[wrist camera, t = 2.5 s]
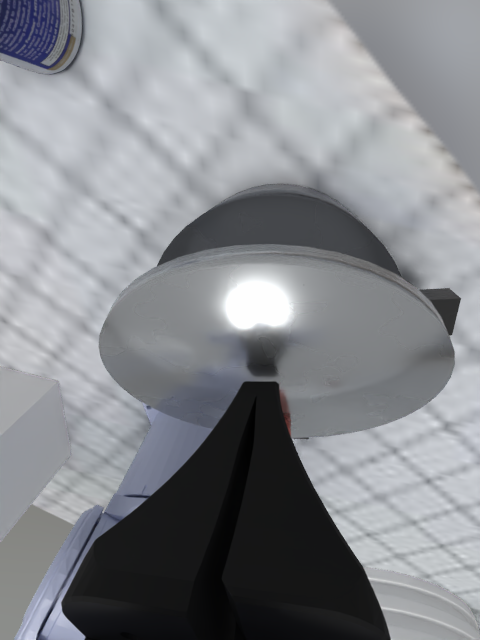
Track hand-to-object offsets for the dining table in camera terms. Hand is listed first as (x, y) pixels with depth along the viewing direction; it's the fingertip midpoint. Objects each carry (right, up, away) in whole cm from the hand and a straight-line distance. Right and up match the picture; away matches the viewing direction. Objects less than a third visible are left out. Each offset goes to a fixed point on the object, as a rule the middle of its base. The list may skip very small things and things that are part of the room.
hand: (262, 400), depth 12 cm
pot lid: (0, +1, +2) cm, 2 cm away
